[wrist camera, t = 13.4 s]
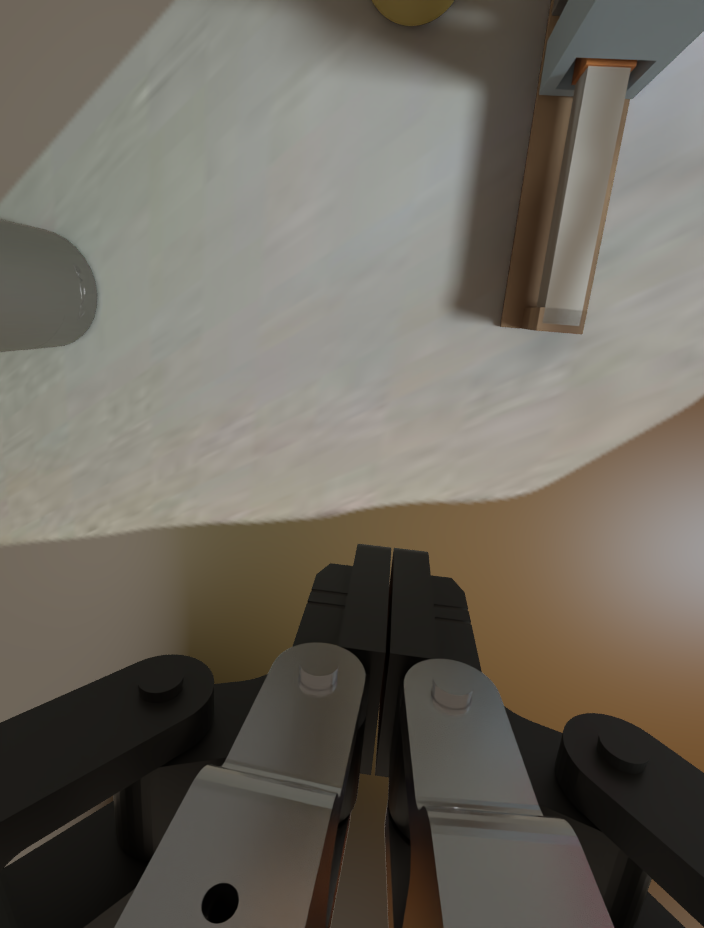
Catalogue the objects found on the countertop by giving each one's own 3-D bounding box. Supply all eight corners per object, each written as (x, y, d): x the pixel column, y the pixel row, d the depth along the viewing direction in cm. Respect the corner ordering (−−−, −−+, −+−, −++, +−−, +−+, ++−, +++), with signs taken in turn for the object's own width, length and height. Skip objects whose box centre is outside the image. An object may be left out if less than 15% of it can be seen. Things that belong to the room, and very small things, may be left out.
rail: (500, 326, 39) (519, 329, 33) (561, -66, 32) (601, -165, 26) (580, 333, 39) (616, 337, 32) (660, -64, 32) (727, -164, 25)
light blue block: (539, 94, 34) (624, -48, 21) (547, 41, 33) (642, -145, 20) (632, 99, 33) (782, -44, 20) (642, 44, 33) (807, -144, 19)
